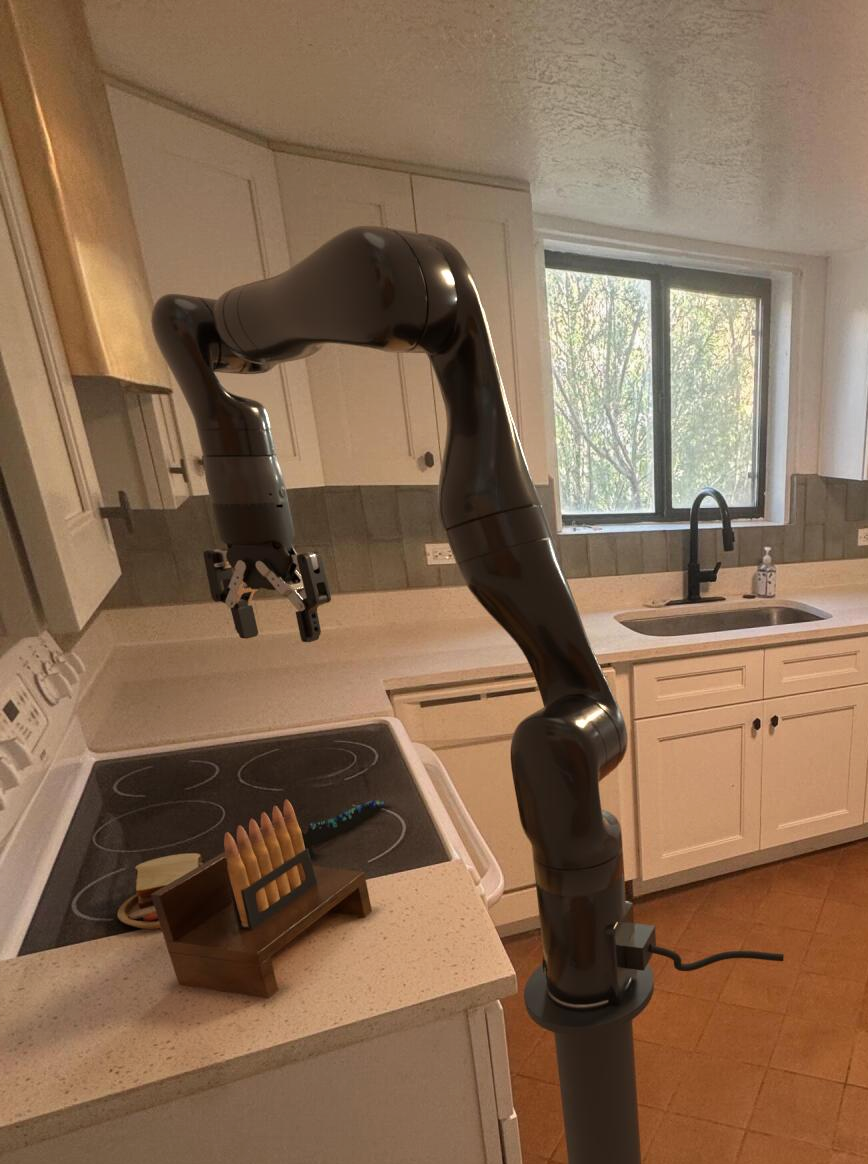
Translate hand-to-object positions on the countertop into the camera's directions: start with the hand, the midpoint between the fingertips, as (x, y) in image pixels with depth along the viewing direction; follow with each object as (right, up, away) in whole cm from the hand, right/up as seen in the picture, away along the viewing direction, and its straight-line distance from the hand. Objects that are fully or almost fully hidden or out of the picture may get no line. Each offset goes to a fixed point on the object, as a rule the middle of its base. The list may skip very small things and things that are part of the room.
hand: (280, 639), depth 94 cm
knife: (-9, -29, +26) cm, 40 cm away
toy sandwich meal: (-21, -35, +11) cm, 42 cm away
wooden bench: (-1, -38, +3) cm, 38 cm away
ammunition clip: (0, -32, 0) cm, 32 cm away
